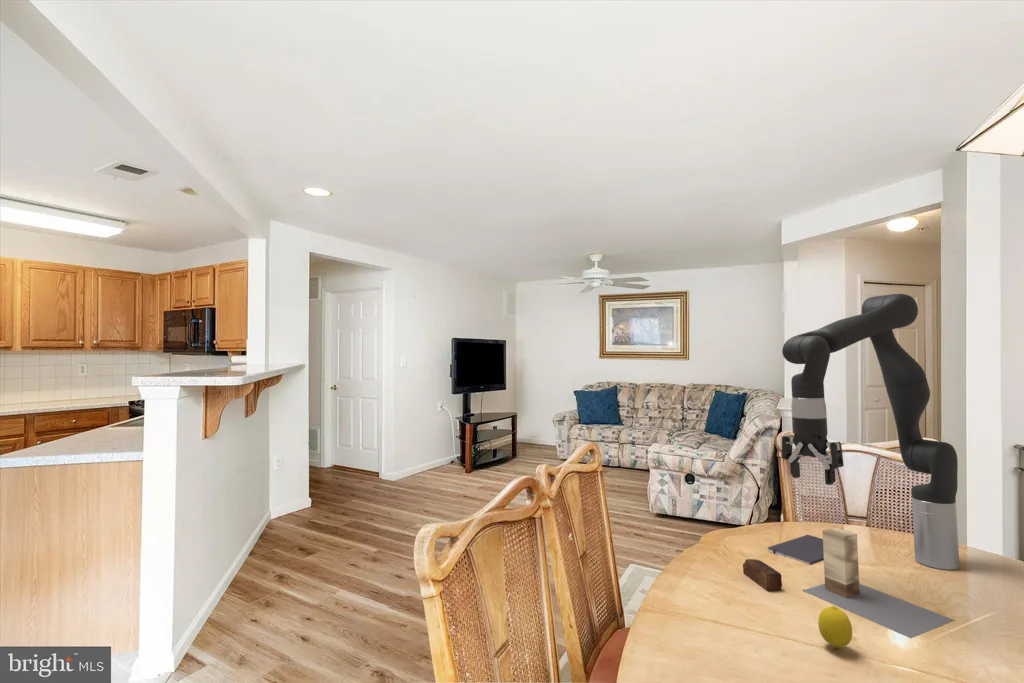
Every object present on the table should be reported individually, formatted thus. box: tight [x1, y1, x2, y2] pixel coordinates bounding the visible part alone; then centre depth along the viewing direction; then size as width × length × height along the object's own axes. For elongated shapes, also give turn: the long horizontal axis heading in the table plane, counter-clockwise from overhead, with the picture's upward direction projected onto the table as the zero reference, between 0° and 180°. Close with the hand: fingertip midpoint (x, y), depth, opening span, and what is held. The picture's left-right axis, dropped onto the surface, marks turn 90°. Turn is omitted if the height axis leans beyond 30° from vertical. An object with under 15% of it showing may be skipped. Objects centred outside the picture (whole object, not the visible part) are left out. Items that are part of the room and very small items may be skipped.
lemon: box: [817, 605, 853, 650], centre depth 96 cm, size 6×6×8 cm
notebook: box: [767, 534, 824, 566], centre depth 145 cm, size 13×2×21 cm
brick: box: [742, 558, 783, 592], centre depth 124 cm, size 11×4×5 cm, turn 6°
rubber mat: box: [802, 583, 956, 639], centre depth 112 cm, size 16×23×1 cm
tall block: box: [822, 527, 860, 598], centre depth 119 cm, size 5×5×14 cm
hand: (812, 480), depth 123 cm, fingers open, 8 cm apart
